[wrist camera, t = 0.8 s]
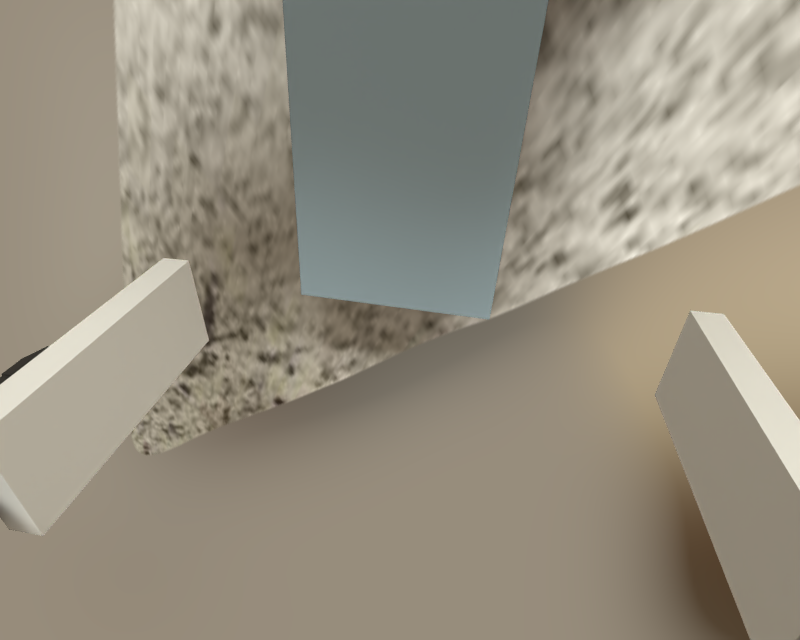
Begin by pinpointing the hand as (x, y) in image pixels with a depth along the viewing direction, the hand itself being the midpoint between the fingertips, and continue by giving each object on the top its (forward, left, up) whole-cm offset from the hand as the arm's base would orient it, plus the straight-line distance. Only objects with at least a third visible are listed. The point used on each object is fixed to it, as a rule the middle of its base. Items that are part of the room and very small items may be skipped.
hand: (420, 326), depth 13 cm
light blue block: (-3, -2, -17) cm, 17 cm away
